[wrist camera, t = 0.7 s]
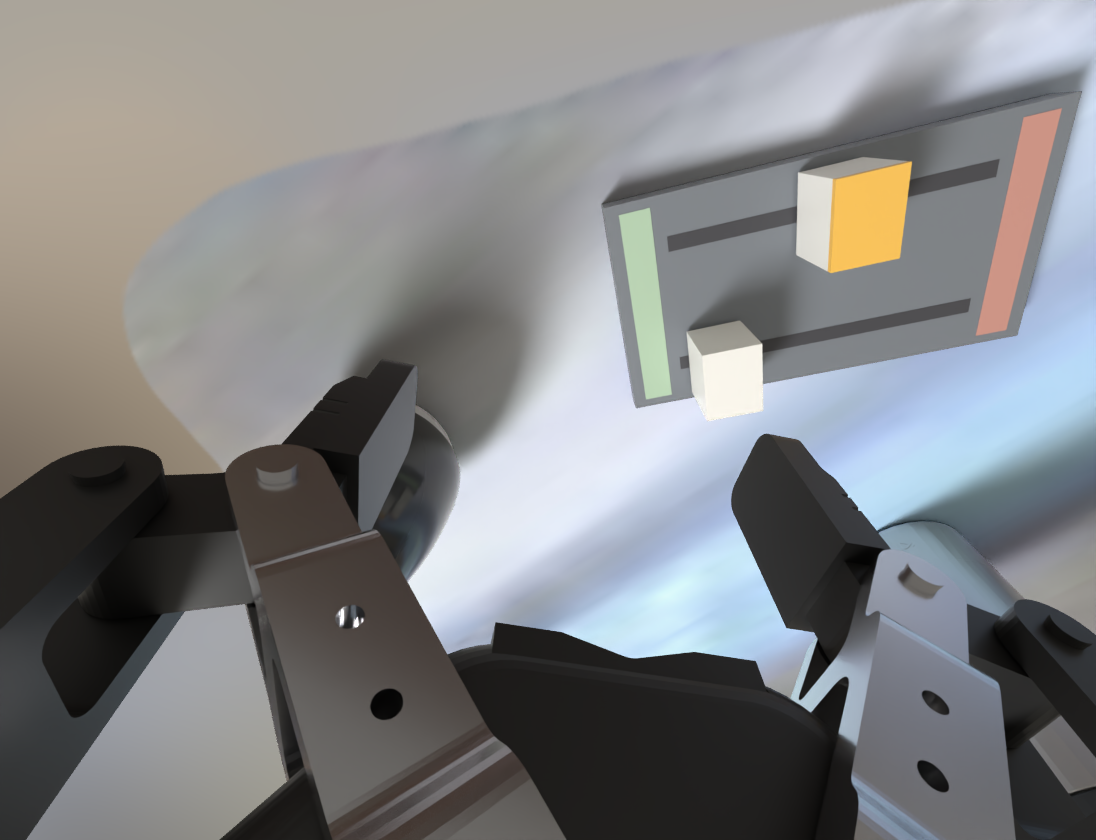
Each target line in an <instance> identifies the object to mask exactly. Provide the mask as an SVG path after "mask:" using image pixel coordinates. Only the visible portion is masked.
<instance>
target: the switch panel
mask: <svg viewBox="0 0 1096 840" xmlns="http://www.w3.org/2000/svg"><path fill="white" fill-rule="evenodd" d="M1081 93H1082V91H1080V92H1065V93H1052V94H1048V95H1044V96H1040V97H1036V98H1032V99H1028V100H1024V101H1020V102H1016V103H1012V104H1008V105H1004V106H1000V107H996V108H991V109H987V110H983V111H979V112H975V113H971V114H967V115H963V116H959V117H955V118H951V119H947V120H943V121H939V122H935V123H930V124H926V125H922V126H918V127H914V128H910V129H906V130H902V131H898V132H894V133H890V134H886V135H882V136H878V137H873V138H869V139H865V140H861V141H857V142H853V143H849V144H845V145H841V146H837V147H833V148H829V149H825V150H821V151H817V152H812V153H808V154H804V155H800V156H796V157H792V158H788V159H784V160H780V161H776V162H772V163H768V164H764V165H760V166H756V167H751V168H747V169H743V170H739V171H735V172H731V173H727V174H723V175H719V176H715V177H711V178H707V179H703V180H699V181H695V182H690V183H686V184H682V185H678V186H674V187H670V188H666V189H662V190H658V191H654V192H650V193H646V194H642V195H638V196H633V197H629V198H625V199H621V200H617V201H613V202H609V203H605V204H601V206H602V212H603V218H604V224H605V230H606V236H607V242H608V249H609V255H610V261H611V267H612V273H613V279H614V285H615V291H616V298H617V304H618V310H619V316H620V322H621V328H622V334H623V340H624V347H625V353H626V359H627V365H628V371H629V377H630V383H631V389H632V396H633V400H634V403H635V407H636V408H640V407H645V406H651V405H656V404H661V403H666V402H671V401H677V400H682V399H687V398H692V397H694V395H693V393H692V385H691V375H690V364H689V353H688V343H687V331H692V330H696V329H701V328H706V327H711V326H716V325H720V324H725V323H730V322H735V321H741V322H742V323H743V324H744V325H745V326H746V327H747V328H748V329H749V330H750V331H751V332H752V333H753V335H754V336H755V337H756V338H757V339H758V340H759V341H760V342H761V343H762V361H763V384H766V383H771V382H776V381H781V380H786V379H792V378H797V377H802V376H807V375H813V374H818V373H823V372H828V371H833V370H839V369H844V368H849V367H854V366H860V365H865V364H870V363H875V362H880V361H886V360H891V359H896V358H901V357H907V356H912V355H917V354H922V353H928V352H933V351H938V350H943V349H948V348H954V347H959V346H964V345H969V344H975V343H980V342H985V341H990V340H995V339H1001V338H1006V337H1011V336H1016V335H1018V331H1019V327H1020V323H1021V319H1022V316H1023V312H1024V308H1025V304H1026V301H1027V297H1028V293H1029V289H1030V285H1031V282H1032V278H1033V274H1034V270H1035V267H1036V263H1037V259H1038V255H1039V251H1040V248H1041V244H1042V240H1043V236H1044V232H1045V229H1046V225H1047V221H1048V217H1049V214H1050V210H1051V206H1052V202H1053V198H1054V195H1055V191H1056V187H1057V183H1058V180H1059V176H1060V172H1061V168H1062V164H1063V161H1064V157H1065V153H1066V149H1067V146H1068V142H1069V138H1070V134H1071V130H1072V127H1073V123H1074V119H1075V115H1076V111H1077V108H1078V104H1079V100H1080V96H1081ZM861 157H869V158H879V159H890V160H900V161H911V162H912V166H911V174H910V182H909V190H908V198H907V206H906V214H905V222H904V229H903V237H902V245H901V253H900V258H899V259H894V260H890V261H885V262H880V263H876V264H871V265H867V266H862V267H857V268H853V269H848V270H843V271H839V272H834V273H829V272H828V271H826V270H824V269H822V268H820V267H818V266H816V265H814V264H812V263H810V262H809V261H807V260H805V259H803V258H801V257H799V256H797V255H796V241H797V198H798V173H799V172H803V171H807V170H811V169H815V168H819V167H823V166H828V165H832V164H836V163H840V162H844V161H848V160H852V159H856V158H861Z"/></svg>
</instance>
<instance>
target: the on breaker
mask: <svg viewBox="0 0 1096 840" xmlns="http://www.w3.org/2000/svg"><path fill="white" fill-rule="evenodd" d="M687 343H688V353H689V364H690V375H691V385H692V393H693V395H694V397H695V399H696V401H697V402H698V404H699V406H700V408H701V410H702V412H703V414H704V416H705V418H706V420H707V421H711V420H717V419H722V418H728V417H733V416H738V415H744V414H749V413H755V412H760V411H763V361H762V343H761V342H760V341H759V340H758V339H757V338H756V337H755V336H754V335H753V333H752V332H751V331H750V330H749V329H748V328H747V327H746V326H745V325H744V324H743V323H742V322H741V321H735V322H730V323H725V324H720V325H716V326H711V327H706V328H701V329H696V330H692V331H687Z"/></svg>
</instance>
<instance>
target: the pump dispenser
mask: <svg viewBox="0 0 1096 840" xmlns="http://www.w3.org/2000/svg"><path fill="white" fill-rule="evenodd" d="M459 486H460V468H459V463H458V460H457V457H456V454H455V452H454V450H453V447H452V444H451V442H450V439H449V437H448V435H447V434H446V432H445V430H444V429H443V428H442V426H441V425H440V424H439V423H438V422H437V420H436V419H435V418H434V417H432V416H431V415H430V414H429V413H428V412H426V411H425V410H423V409H422V408H420V407H419V406H417V405H416V406H415V419H414V429H413V436H412V440H411V444H410V448H409V451H408V453H407V455H406V458H405V460H404V462H403V464H402V466H401V468H400V470H399V472H398V475H397V477H396V479H395V481H394V483H393V485H392V487H391V489H390V492H389V494H388V496H387V498H386V500H385V502H384V504H383V507H382V509H381V511H380V513H379V515H378V517H377V519H376V521H375V524H374V526H373V528H372V529H375V530H377V531H378V532H379V533H380V534H381V536H382V537H383V539H384V541H385V542H386V544H387V546H388V548H389V550H390V551H391V553H392V555H393V557H394V559H395V560H396V562H397V564H398V566H399V568H400V570H401V571H402V573H403V575H404V577H405V579H406V580H407V582H408V581H409V580H410V579H411V578H412V577H413V575H414V574H415V573H416V572H417V570H418V569H419V568H420V566H421V565H422V564H423V562H424V561H425V559H426V558H427V556H428V555H429V553H430V552H431V550H432V549H433V547H434V545H435V544H436V542H437V540H438V538H439V536H440V535H441V533H442V531H443V529H444V527H445V525H446V523H447V520H448V518H449V516H450V514H451V512H452V510H453V507H454V504H455V501H456V498H457V495H458V491H459Z"/></svg>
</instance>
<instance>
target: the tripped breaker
mask: <svg viewBox="0 0 1096 840" xmlns="http://www.w3.org/2000/svg"><path fill="white" fill-rule="evenodd" d="M911 166H912V162H911V161H900V160H890V159H879V158H869V157H861V158H856V159H852V160H848V161H844V162H840V163H836V164H832V165H828V166H823V167H819V168H815V169H811V170H807V171H803V172H799V173H798V198H797V241H796V255H797V256H799V257H801V258H803V259H805V260H807V261H809V262H810V263H812V264H814V265H816V266H818V267H820V268H822V269H824V270H826V271H828V272H829V273H834V272H839V271H843V270H848V269H853V268H857V267H862V266H867V265H871V264H876V263H880V262H885V261H890V260H894V259H899V258H900V253H901V245H902V237H903V229H904V222H905V214H906V206H907V198H908V190H909V182H910V174H911Z"/></svg>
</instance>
